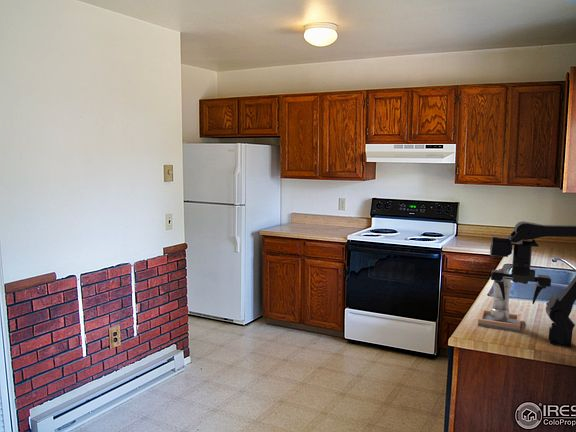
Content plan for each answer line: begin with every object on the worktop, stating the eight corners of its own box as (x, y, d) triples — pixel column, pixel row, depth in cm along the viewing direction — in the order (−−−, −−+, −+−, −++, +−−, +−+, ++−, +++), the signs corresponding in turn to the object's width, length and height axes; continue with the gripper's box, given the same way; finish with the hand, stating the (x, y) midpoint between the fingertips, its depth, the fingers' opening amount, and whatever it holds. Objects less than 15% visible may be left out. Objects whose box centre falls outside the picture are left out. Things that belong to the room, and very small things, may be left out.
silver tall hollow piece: (486, 318, 192) (490, 268, 190) (502, 317, 194) (505, 267, 192) (496, 323, 186) (500, 272, 184) (512, 323, 188) (516, 271, 185)
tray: (520, 320, 193) (520, 314, 193) (519, 331, 181) (520, 325, 180) (480, 314, 200) (481, 309, 199) (477, 325, 187) (478, 319, 186)
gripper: (491, 259, 168) (488, 303, 169) (553, 265, 160) (549, 312, 161) (493, 253, 178) (490, 296, 179) (552, 259, 170) (548, 303, 171)
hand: (518, 301), depth 173 cm, fingers open, 9 cm apart
